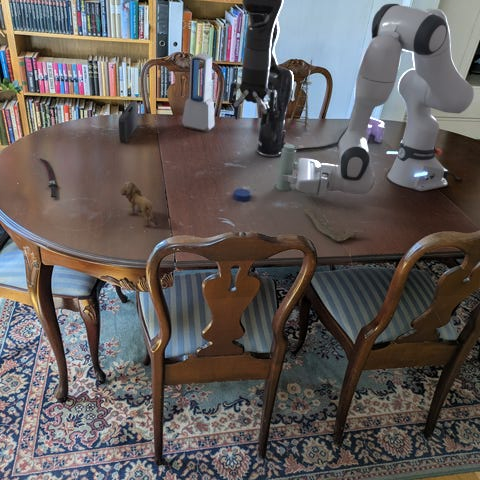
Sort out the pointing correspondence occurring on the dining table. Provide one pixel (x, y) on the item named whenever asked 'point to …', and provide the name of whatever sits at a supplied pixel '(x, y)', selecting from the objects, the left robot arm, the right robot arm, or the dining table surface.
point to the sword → (52, 181)
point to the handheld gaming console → (128, 121)
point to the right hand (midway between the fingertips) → (283, 171)
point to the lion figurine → (137, 201)
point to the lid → (241, 194)
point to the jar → (286, 166)
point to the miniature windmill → (305, 83)
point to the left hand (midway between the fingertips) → (250, 122)
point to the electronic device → (199, 97)
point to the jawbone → (331, 232)
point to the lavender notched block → (375, 129)
